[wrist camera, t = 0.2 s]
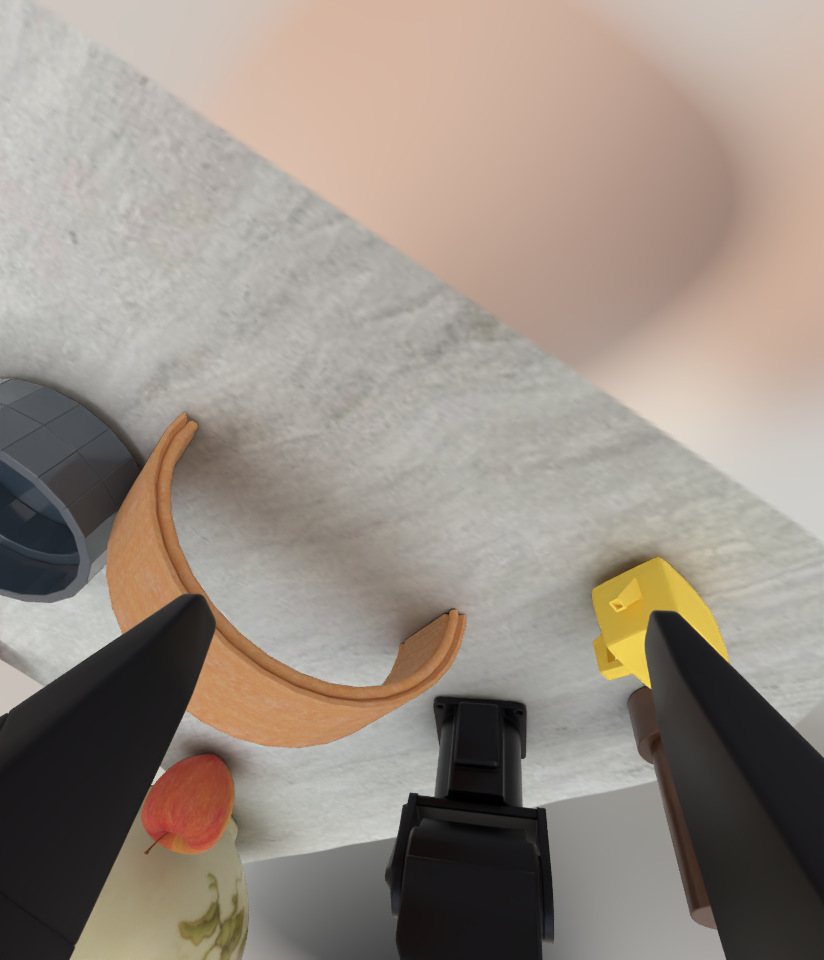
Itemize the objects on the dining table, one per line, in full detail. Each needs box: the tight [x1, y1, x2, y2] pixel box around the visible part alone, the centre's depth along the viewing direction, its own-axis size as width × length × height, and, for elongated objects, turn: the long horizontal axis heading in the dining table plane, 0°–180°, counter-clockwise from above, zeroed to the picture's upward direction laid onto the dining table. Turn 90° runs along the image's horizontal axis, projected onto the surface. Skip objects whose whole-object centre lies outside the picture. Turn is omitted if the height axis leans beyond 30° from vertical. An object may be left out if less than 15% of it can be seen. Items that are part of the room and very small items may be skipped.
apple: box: [141, 754, 234, 855], centre depth 43 cm, size 7×7×8 cm
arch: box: [106, 413, 466, 748], centre depth 25 cm, size 6×20×10 cm, turn 49°
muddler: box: [628, 686, 717, 929], centre depth 28 cm, size 4×4×11 cm
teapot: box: [592, 557, 730, 689], centre depth 25 cm, size 8×6×5 cm
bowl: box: [0, 378, 140, 603], centre depth 27 cm, size 11×11×6 cm
